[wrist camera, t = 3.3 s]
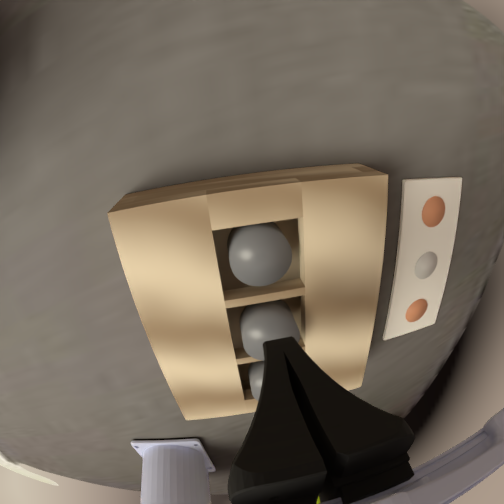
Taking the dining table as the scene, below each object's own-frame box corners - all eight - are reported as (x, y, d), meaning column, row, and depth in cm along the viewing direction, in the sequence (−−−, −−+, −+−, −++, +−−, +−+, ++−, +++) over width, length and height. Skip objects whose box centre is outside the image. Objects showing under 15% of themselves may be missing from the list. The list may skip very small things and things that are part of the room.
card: (433, 321, 25) (435, 324, 24) (382, 338, 24) (384, 341, 24) (459, 176, 18) (462, 178, 18) (402, 179, 18) (405, 180, 18)
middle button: (292, 333, 19) (300, 354, 17) (242, 342, 19) (246, 364, 17) (290, 293, 17) (299, 313, 16) (236, 302, 17) (239, 324, 15)
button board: (345, 358, 24) (360, 386, 21) (186, 387, 23) (186, 420, 20) (358, 163, 17) (388, 174, 14) (125, 194, 16) (107, 213, 13)
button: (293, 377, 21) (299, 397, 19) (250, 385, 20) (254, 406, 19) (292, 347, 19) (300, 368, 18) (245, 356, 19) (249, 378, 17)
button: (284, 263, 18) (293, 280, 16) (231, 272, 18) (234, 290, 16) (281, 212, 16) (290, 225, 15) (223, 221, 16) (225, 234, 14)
